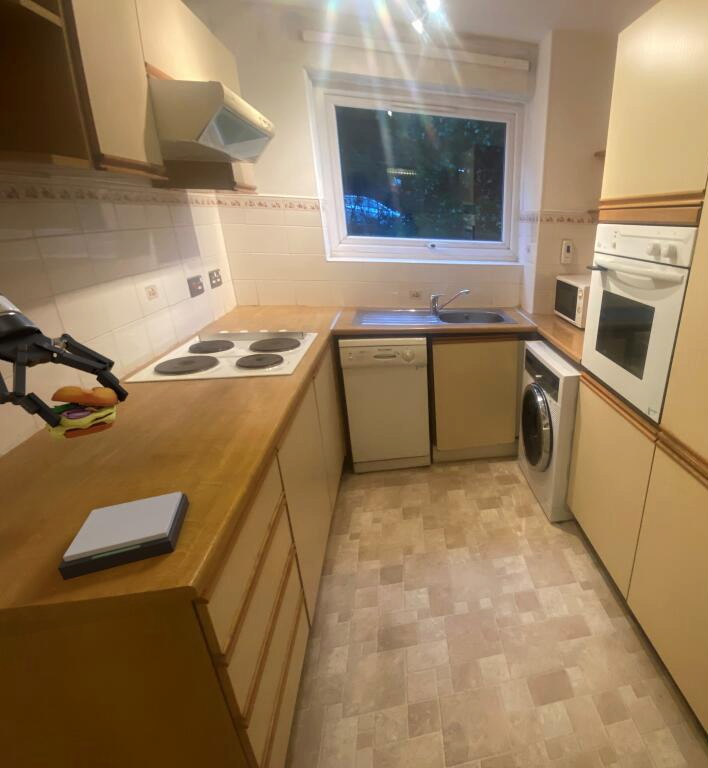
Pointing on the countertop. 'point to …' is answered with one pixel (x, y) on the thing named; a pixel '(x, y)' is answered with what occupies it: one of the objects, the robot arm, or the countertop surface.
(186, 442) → the countertop surface
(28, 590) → the countertop surface
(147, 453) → the countertop surface
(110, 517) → the kitchen scale
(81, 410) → the cheeseburger
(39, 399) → the robot arm
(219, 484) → the countertop surface
